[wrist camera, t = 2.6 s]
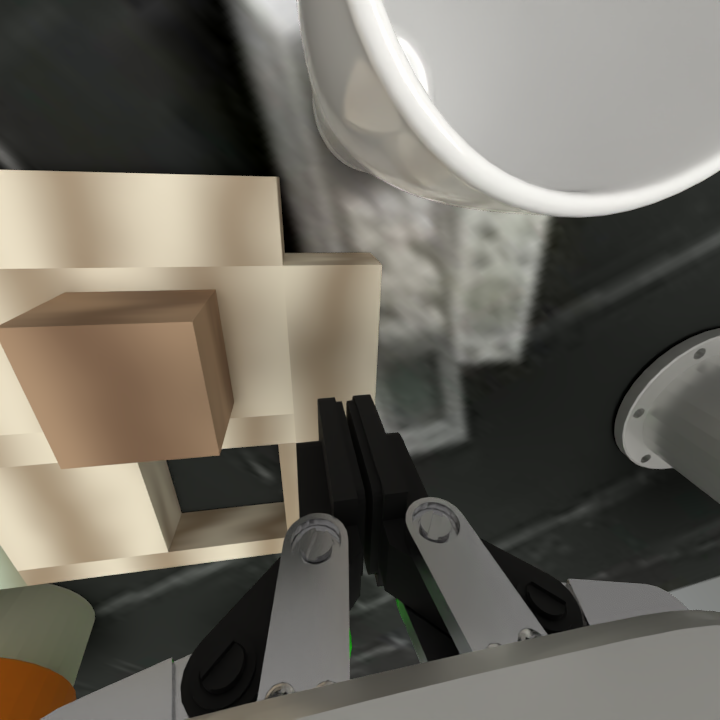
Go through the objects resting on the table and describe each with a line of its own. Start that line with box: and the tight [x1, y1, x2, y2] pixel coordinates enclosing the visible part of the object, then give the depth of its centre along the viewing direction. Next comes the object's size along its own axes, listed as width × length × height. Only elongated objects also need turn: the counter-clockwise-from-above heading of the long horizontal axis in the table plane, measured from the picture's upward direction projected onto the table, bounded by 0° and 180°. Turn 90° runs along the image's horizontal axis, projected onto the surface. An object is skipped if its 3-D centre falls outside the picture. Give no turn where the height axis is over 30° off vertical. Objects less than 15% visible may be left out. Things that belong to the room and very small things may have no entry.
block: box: [0, 289, 234, 469], centre depth 15 cm, size 6×6×4 cm
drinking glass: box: [296, 0, 720, 218], centre depth 9 cm, size 7×7×15 cm
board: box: [0, 170, 382, 589], centre depth 19 cm, size 32×23×3 cm
